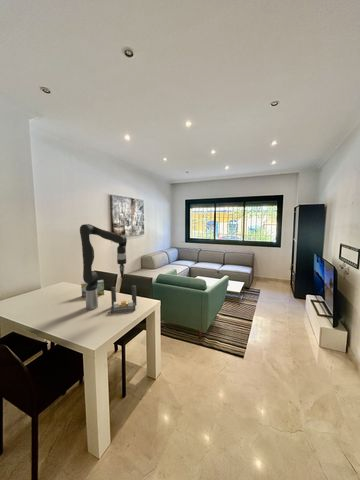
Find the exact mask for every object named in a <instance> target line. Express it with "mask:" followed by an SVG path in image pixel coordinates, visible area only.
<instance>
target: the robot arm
mask: <svg viewBox="0 0 360 480" xmlns="http://www.w3.org/2000/svg"><path fill="white" fill-rule="evenodd" d="M79 227H80V228H79V233H80V240H81V249H82V250H81V252H82V264H83V266H82V267H83V268H82V269H83V271H82V273H83V274H82V280H83V282H85V283H88V284H87V286H86V297H85V309H86V310H91V311H92V310H96V309H97V308H98V307H99V301H98V296H97V285H98V280H99V275H98V273H97V272H96V271H95V270H92V269H93V268H92V267H93V263H94V260H95V250H94V247H93V245H92V243H91V239H90V235H95V236H98V237H101V238H102V239H105V240H108V241H111V242H114V243H115V244H118V246H117V248H116V253H117V255H116V264H117V265H119V274H120V279H124V276H125V274H124V273H125V265H126V264H127V251H126V250H127V249H126V246H127V242H128V240H127V236H126V235H124V234H121V235H120V234H116V233H115V232H112V231H109V230H104V229H102V228H99V227H96V226H94V225H92V224H90V223H88V224H87V223H86V224H85V223H84V224H81V225H80V226H79Z"/></svg>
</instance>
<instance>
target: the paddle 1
mask: <svg viewBox="0 0 360 480" xmlns="http://www.w3.org/2000/svg"><path fill="white" fill-rule="evenodd" d="M119 305H120V302H119V301H116V302H114V308H117V307H119Z"/></svg>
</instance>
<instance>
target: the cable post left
mask: <svg viewBox="0 0 360 480" xmlns="http://www.w3.org/2000/svg"><path fill="white" fill-rule="evenodd" d="M110 295H111V306H112V305H114V302H117V289H116V287H115V286H111V287H110Z"/></svg>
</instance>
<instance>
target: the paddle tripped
mask: <svg viewBox="0 0 360 480" xmlns="http://www.w3.org/2000/svg"><path fill="white" fill-rule="evenodd" d="M126 304H127V301H126V300H123V301H120V305H121V307H126Z"/></svg>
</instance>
